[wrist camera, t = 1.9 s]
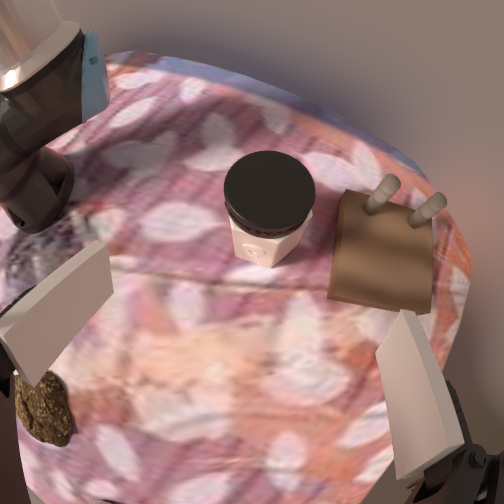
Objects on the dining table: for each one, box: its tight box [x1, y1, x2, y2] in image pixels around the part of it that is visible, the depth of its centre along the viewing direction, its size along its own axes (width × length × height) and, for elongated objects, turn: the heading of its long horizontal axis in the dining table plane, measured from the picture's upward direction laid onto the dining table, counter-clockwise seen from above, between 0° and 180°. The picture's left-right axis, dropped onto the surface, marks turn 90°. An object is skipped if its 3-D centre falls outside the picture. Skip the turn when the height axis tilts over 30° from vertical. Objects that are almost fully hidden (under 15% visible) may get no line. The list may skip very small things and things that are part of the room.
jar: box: [224, 151, 315, 268], centre depth 29 cm, size 9×8×12 cm
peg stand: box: [327, 174, 447, 315], centre depth 29 cm, size 14×14×10 cm
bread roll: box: [15, 372, 72, 447], centre depth 24 cm, size 13×12×5 cm
